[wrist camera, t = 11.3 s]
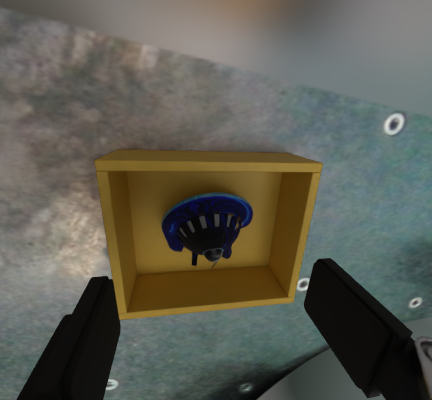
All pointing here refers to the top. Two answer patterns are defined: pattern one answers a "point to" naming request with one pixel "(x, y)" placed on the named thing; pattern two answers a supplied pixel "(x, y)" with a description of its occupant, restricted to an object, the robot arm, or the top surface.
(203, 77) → the top surface
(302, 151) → the top surface
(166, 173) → the bin
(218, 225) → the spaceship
